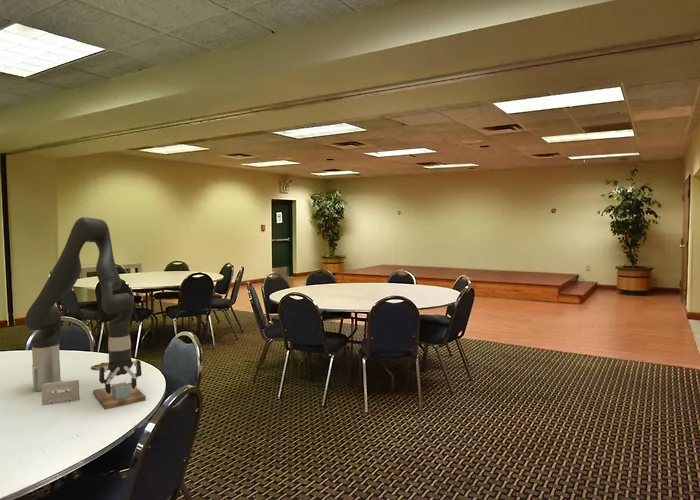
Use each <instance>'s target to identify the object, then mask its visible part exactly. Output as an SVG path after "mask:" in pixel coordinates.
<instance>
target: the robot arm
mask: <svg viewBox="0 0 700 500" xmlns="http://www.w3.org/2000/svg"><path fill="white" fill-rule="evenodd" d="M85 243H95V244H96V247H97V250H98V257H97V262H96V265H95V266H96V267H95V272H96V273H95V274H96V276H97V279H98V281H99V285H100V288H101V289H100V290H101V308H102V310H103V311H104V313H106V314H107V315H116V314H118V317H116V318H113V319H112V320H110V321H109V322H108V324H107V325H108V329H107V330H108V342H107V344H108V345H107V347H108V362H109V364H108V366H100V367H99V371H98V373H99V374H98V378H99V379H98V381H99V382H100V384H105V385H104V388H105V391H106V392H107V393H108V394H111V387H112V385H111V382H112V380H113V379H114V378H115V377H116V376H117V377H118V376H122V375H124V376H125V375H127V374H129V376H130V379H131V380H130V383H131V386H132V389H135V387H137V378H139V377H142V375H143V373H142V364H141V361H140V359H135V360H132V341H131V333H130V330H131V329H130V323H131V319H132V314H133V310H134V306H135V300H134V298H133V296H132V295H131V294H130V293H129V292H128V293H127V292H125V293H116V294H114V293H113V292H115V291H117V290H119V289H120V288H121V287H122V284H123V283H122V280H121V277H120V274H119V272H118V271H119V270H118V269H117V266H116V263H115V258H114V257H115V256H114V252H113V251H114V250H113V245H112V240H111V234H110V230H109V225H108V224H107V222H106V221H105V220H103V219H100V218H93V217H86V216H82V217H79V218H78V219H77V220H75V223H74V224H73V225H72V228H71V231H70V233H69V236H68V238H67V241H66V243H65V245H64V247H63V250H62V251H61V253H60V256H59V258H58V260H57V261H56V263H55V265H54V266H53V268H52V270H51V272H50V274H49V277H48V278H47V280H46V282H45V284H44V285H43V287H42V289H41V291H40V293H39V294H38V296H37V297H36V298H35V300H34V301H33V303H32V304H31V306H30V307H29V309H28V310H27V311H26V314H25V318H24V320H25V321H24V322H25V326H26V328H28V329H29V330H30V331H39V333H38V335H36V336H35V337H34V338H33V339H32V340H31V354H32V358H31V359H32V364H31V370H32V388H33V392H42V390H41V385H42V384H46V383H54V382H62V380H61V362H60V360H61V359H60V338H61V334H62V314H61V311H60V309H59V307H58V306H56V305H55V304H56V303H57V302H58V301H59V300H60V299H62V298H63V297H64V296H65V295H66V294H68V292H69V291H70V290H72V288H74V286H75V284H76V283H77V282H78V280H79V277H80V276H81V273H82V263H81V259H80V257H81V256H80V254H81V251H82V248H83V246H84V245H85ZM133 365H134V367H135V371H136V373H134V372H133V371H132V370H131V368H132V367H133ZM107 369H109V370H107ZM107 371H109V373H108V374H107V376H106V378H105V373H106V372H107Z"/></svg>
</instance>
